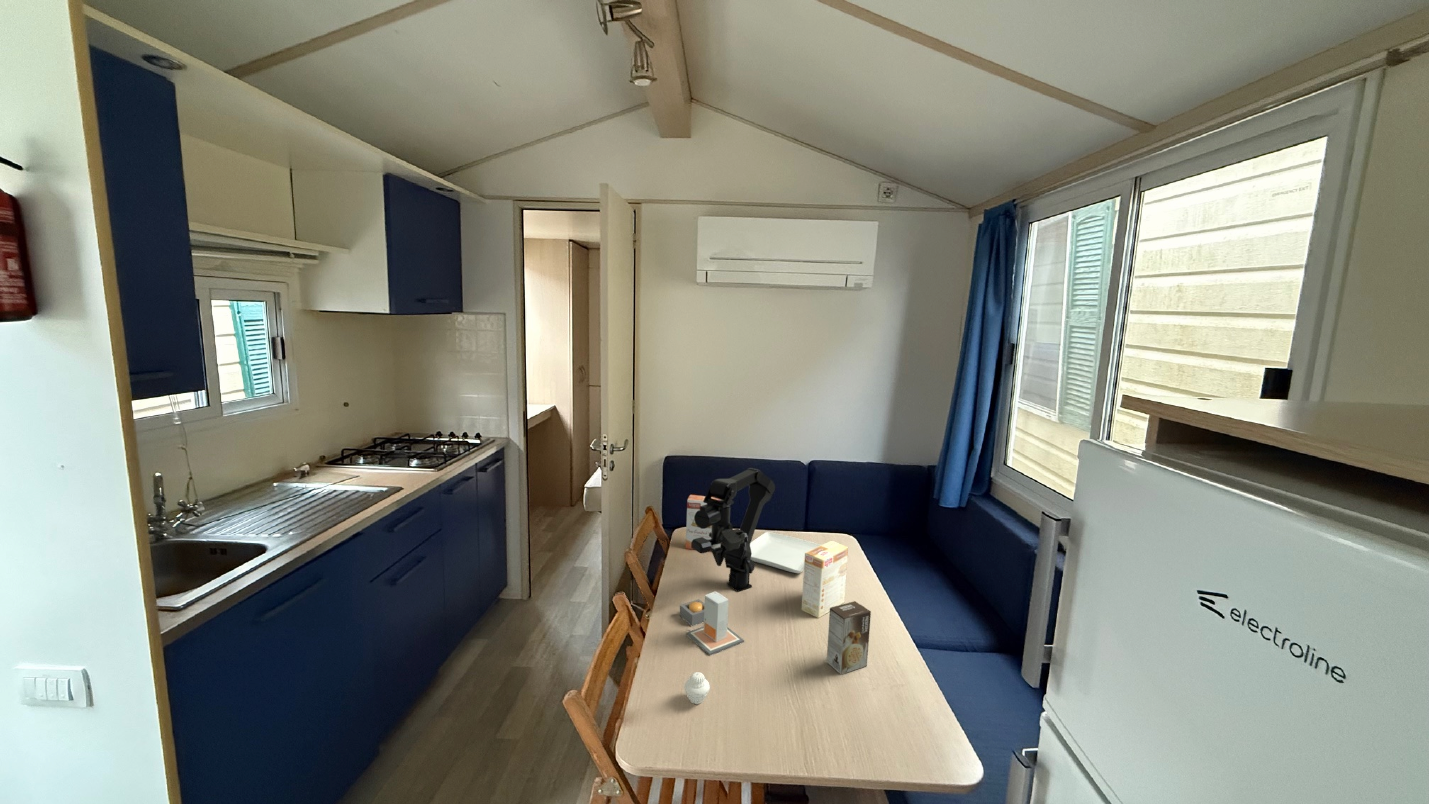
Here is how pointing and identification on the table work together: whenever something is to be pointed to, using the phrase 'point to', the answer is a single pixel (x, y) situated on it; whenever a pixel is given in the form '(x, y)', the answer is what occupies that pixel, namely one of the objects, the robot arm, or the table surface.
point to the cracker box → (691, 527)
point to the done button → (695, 607)
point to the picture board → (710, 644)
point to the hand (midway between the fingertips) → (719, 565)
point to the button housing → (689, 615)
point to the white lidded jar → (696, 688)
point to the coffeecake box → (824, 578)
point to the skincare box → (715, 616)
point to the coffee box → (848, 637)
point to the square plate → (781, 551)
